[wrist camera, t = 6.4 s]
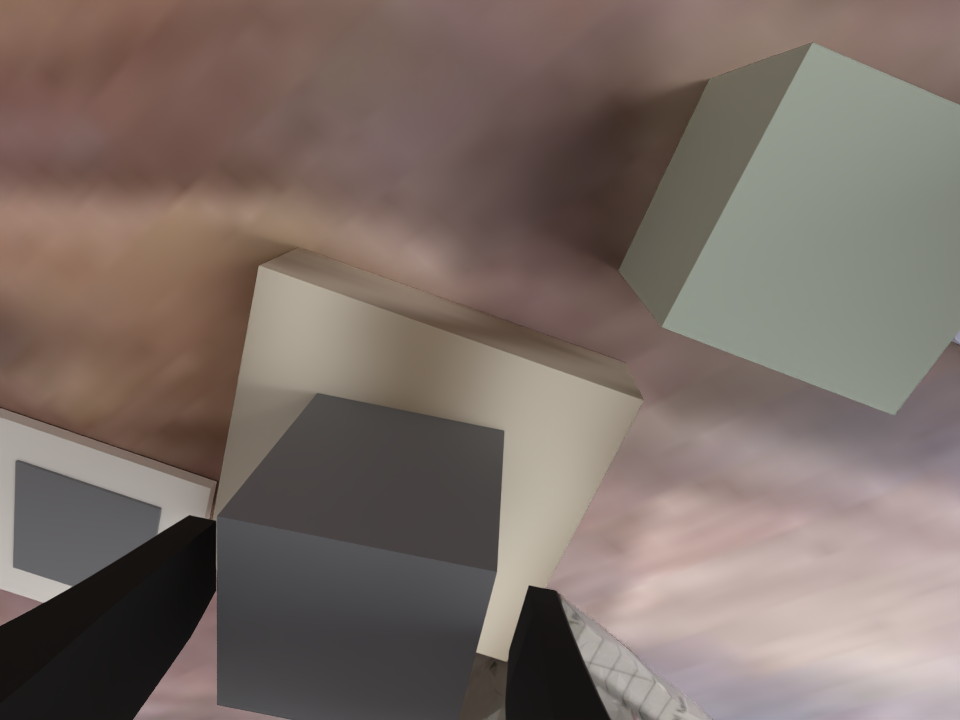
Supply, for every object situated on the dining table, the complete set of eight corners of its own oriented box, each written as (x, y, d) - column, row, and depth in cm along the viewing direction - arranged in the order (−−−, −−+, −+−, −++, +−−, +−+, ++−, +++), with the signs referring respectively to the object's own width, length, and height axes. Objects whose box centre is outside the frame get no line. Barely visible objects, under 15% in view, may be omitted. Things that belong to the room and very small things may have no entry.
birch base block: (622, 356, 16) (644, 400, 13) (508, 589, 20) (506, 661, 17) (305, 244, 16) (258, 265, 13) (249, 506, 19) (203, 566, 17)
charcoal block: (504, 430, 14) (497, 572, 9) (470, 574, 16) (450, 750, 11) (317, 392, 14) (216, 516, 9) (305, 541, 16) (217, 704, 11)
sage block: (891, 155, 13) (1091, 160, 9) (779, 332, 15) (893, 415, 10) (708, 79, 13) (812, 42, 8) (618, 270, 15) (661, 327, 10)
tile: (216, 481, 18) (209, 490, 18) (185, 636, 21) (177, 647, 21) (-16, 402, 18) (-30, 409, 17) (-15, 573, 21) (-27, 582, 20)
